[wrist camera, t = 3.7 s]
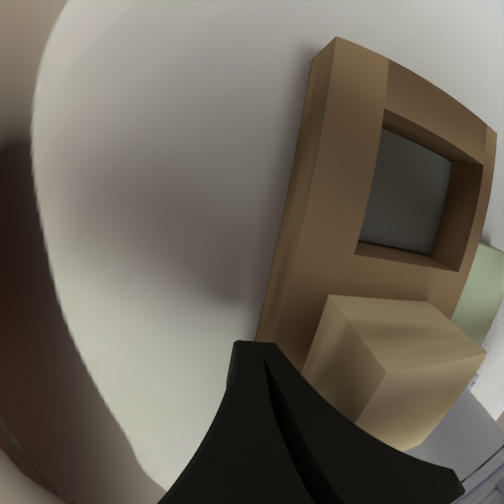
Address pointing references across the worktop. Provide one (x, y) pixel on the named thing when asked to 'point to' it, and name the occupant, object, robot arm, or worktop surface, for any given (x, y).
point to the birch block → (390, 365)
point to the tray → (382, 202)
